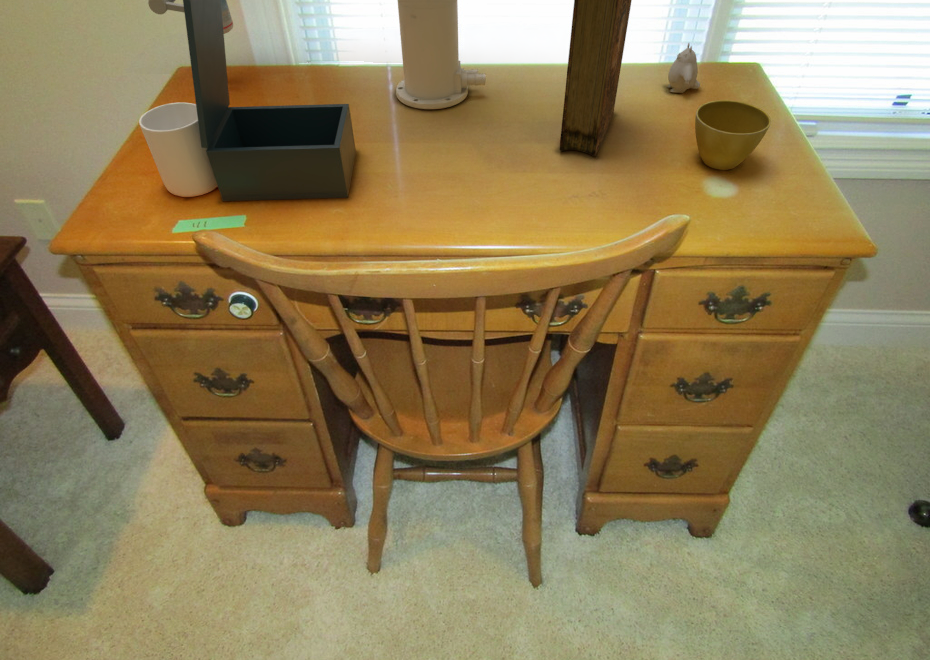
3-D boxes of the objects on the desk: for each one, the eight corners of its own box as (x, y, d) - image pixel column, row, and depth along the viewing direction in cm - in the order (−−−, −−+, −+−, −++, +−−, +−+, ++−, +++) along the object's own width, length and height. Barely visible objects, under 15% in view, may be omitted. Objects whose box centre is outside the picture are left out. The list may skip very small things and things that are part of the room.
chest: (356, 151, 98) (348, 103, 92) (348, 197, 89) (339, 147, 83) (242, 155, 98) (227, 106, 92) (222, 201, 89) (205, 151, 83)
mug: (180, 156, 97) (156, 91, 90) (234, 153, 98) (214, 88, 90) (159, 200, 89) (130, 132, 82) (218, 197, 89) (195, 129, 82)
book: (582, 106, 107) (603, -62, 89) (614, 111, 106) (642, -59, 88) (558, 154, 96) (576, -27, 79) (594, 160, 95) (621, -23, 77)
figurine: (660, 80, 114) (670, 35, 108) (693, 79, 114) (704, 34, 108) (670, 100, 108) (681, 54, 103) (705, 99, 108) (717, 53, 103)
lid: (217, -35, 79) (169, -44, 78) (190, 0, 70) (134, -10, 69) (229, 104, 92) (187, 98, 91) (207, 148, 83) (161, 142, 82)
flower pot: (692, 179, 91) (704, 133, 86) (678, 143, 98) (689, 99, 93) (763, 180, 91) (780, 134, 85) (744, 144, 98) (759, 100, 92)
